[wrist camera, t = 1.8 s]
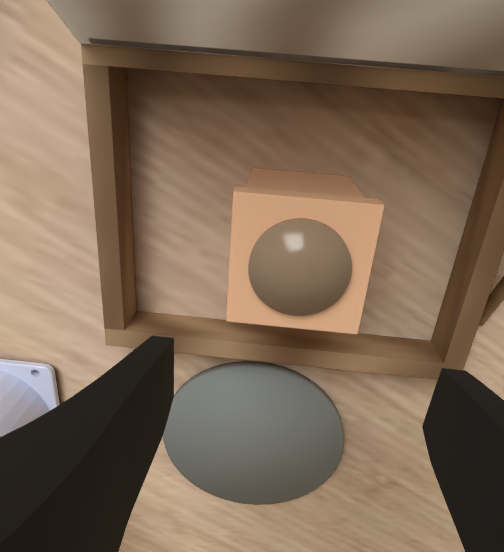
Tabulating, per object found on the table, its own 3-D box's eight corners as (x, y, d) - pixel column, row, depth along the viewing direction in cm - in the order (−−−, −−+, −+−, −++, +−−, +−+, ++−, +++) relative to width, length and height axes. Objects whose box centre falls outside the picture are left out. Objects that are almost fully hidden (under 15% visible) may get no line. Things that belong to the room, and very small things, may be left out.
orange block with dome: (240, 261, 22) (225, 325, 16) (247, 161, 19) (232, 193, 14) (338, 270, 21) (358, 338, 16) (356, 171, 19) (386, 207, 14)
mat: (166, 486, 29) (163, 494, 28) (164, 352, 24) (161, 358, 24) (328, 505, 28) (329, 513, 28) (357, 372, 24) (359, 378, 23)
